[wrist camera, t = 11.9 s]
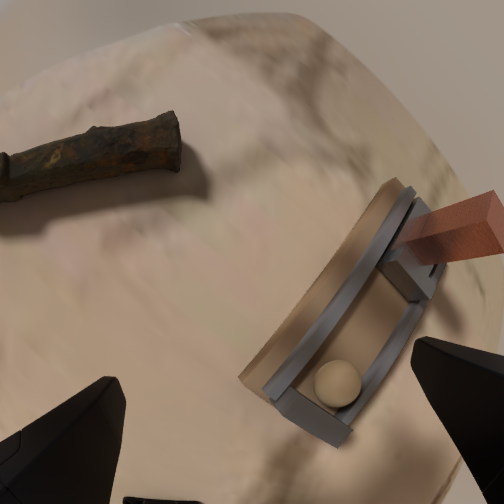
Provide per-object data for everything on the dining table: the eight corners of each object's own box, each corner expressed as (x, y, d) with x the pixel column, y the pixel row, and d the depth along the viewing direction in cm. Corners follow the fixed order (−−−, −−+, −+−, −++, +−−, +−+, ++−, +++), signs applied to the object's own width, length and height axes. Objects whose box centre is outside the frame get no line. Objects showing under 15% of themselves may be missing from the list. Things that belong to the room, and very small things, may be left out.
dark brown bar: (179, 131, 21) (180, 95, 17) (183, 177, 21) (183, 148, 16) (-18, 172, 17) (-45, 152, 12) (-23, 215, 16) (-54, 200, 12)
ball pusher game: (322, 433, 20) (353, 460, 15) (238, 376, 19) (254, 401, 15) (438, 251, 25) (476, 243, 20) (382, 184, 24) (418, 164, 19)
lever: (407, 300, 21) (498, 298, 12) (374, 264, 20) (468, 246, 12) (440, 235, 22) (518, 214, 14) (411, 199, 22) (490, 165, 14)
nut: (344, 395, 19) (368, 409, 16) (304, 401, 18) (324, 418, 15) (347, 354, 19) (373, 362, 16) (306, 357, 19) (328, 368, 15)
